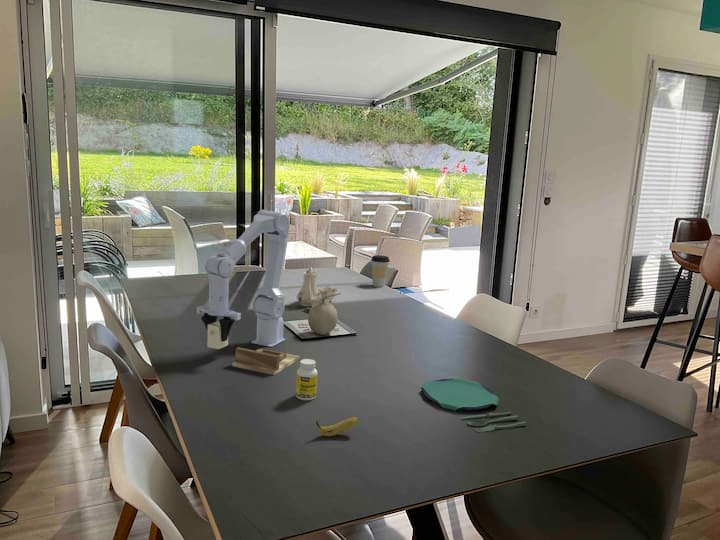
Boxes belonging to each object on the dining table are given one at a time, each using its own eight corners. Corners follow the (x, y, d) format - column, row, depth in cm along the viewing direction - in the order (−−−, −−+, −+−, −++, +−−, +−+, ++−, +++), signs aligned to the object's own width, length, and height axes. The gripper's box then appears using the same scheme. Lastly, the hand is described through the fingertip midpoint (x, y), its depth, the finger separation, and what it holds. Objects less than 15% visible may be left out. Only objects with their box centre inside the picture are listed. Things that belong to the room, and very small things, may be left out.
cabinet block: (217, 342, 182) (217, 320, 181) (228, 344, 181) (228, 322, 179) (205, 347, 177) (206, 325, 176) (216, 350, 175) (217, 327, 174)
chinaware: (331, 318, 239) (338, 278, 236) (290, 311, 238) (296, 271, 235) (335, 302, 266) (341, 266, 263) (299, 295, 266) (304, 260, 263)
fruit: (300, 334, 208) (302, 293, 205) (317, 327, 218) (319, 288, 215) (325, 340, 203) (327, 298, 201) (341, 333, 214) (344, 292, 211)
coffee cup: (367, 283, 302) (368, 254, 299) (384, 283, 305) (386, 255, 302) (372, 287, 293) (374, 258, 290) (390, 287, 296) (392, 258, 293)
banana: (355, 430, 137) (356, 414, 136) (358, 435, 135) (359, 419, 134) (313, 434, 134) (314, 418, 133) (316, 439, 132) (317, 423, 131)
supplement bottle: (297, 401, 152) (299, 365, 150) (294, 393, 157) (295, 358, 155) (318, 400, 153) (320, 364, 151) (314, 392, 158) (315, 357, 156)
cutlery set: (471, 382, 173) (472, 375, 173) (534, 428, 146) (535, 420, 145) (410, 388, 167) (411, 380, 166) (463, 437, 139) (464, 429, 139)
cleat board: (260, 351, 188) (261, 336, 187) (299, 359, 183) (300, 343, 182) (232, 366, 173) (232, 350, 172) (273, 375, 168) (274, 358, 167)
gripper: (190, 295, 175) (190, 338, 178) (231, 302, 170) (230, 346, 173) (205, 290, 182) (204, 332, 184) (245, 297, 177) (243, 340, 179)
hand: (218, 339), depth 179 cm, fingers closed on cabinet block, 4 cm apart
